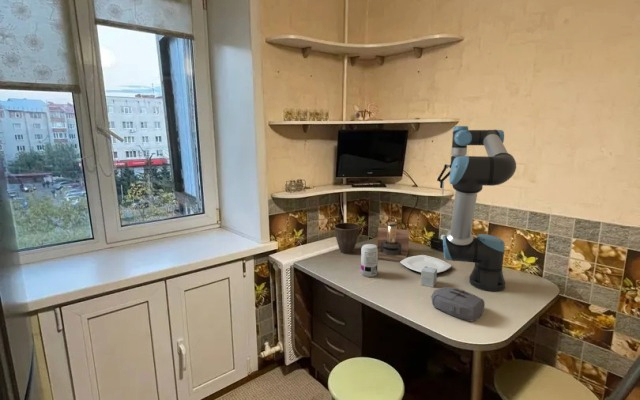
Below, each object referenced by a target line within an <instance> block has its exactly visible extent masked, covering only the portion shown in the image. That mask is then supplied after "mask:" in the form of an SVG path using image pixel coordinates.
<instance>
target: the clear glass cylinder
mask: <svg viewBox="0 0 640 400" xmlns="http://www.w3.org/2000/svg"><path fill="white" fill-rule="evenodd" d="M386 225H387V228H388V229H387V244H388V245H396V229H397V227H398V222H395V221H388V222H387V224H386ZM387 250H389V251H395V250H396V248H387Z"/></svg>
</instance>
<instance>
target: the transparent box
mask: <svg viewBox="0 0 640 400" xmlns="http://www.w3.org/2000/svg"><path fill="white" fill-rule="evenodd" d="M387 229H388V227H378V228H377V249H378V261H387V262H394V263H395V262H396V263H400V261H402V260H404V259H406V258H408V254H409V239H410V238H409V237H410V229H401V228H396V245H388V244H387ZM387 248H396V250H395V251H389V250H387Z"/></svg>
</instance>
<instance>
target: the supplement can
mask: <svg viewBox="0 0 640 400" xmlns="http://www.w3.org/2000/svg"><path fill="white" fill-rule="evenodd" d="M377 247H378V245H376V244H374V243H373V244H372V243H365V244H363V245H362V246H361V248H360V249H361V250H360V252H361V253H360V273H361V275H362V276H364V277H365V278H366V277H367V278H371V277H372V278H373V277H376V276H377V274H378V261H379V260H378V249H377Z"/></svg>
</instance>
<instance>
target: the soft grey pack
mask: <svg viewBox="0 0 640 400" xmlns="http://www.w3.org/2000/svg"><path fill="white" fill-rule="evenodd" d="M430 298H431V301H432V305H433V307H434V308H436V309H438V310H439V311H441V312H442V313H445V314H447V315H449V316H450V317H451V316H452V317H455V318H458V319H460V320H464V321H467V322H468V321H469V322H475V321H477V320H478V319H480V317H481V316H482V314H483V312H484V310H485V306H486V305H485V301H484V299H483V298H481V297H479V296H478V295H475V294H473V293H471V292H468V291H466V290H464V289H460V288H456V287H448V286H444V287H441V288H438V289H435V290H434V291H433V292H432V294H431V296H430Z"/></svg>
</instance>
